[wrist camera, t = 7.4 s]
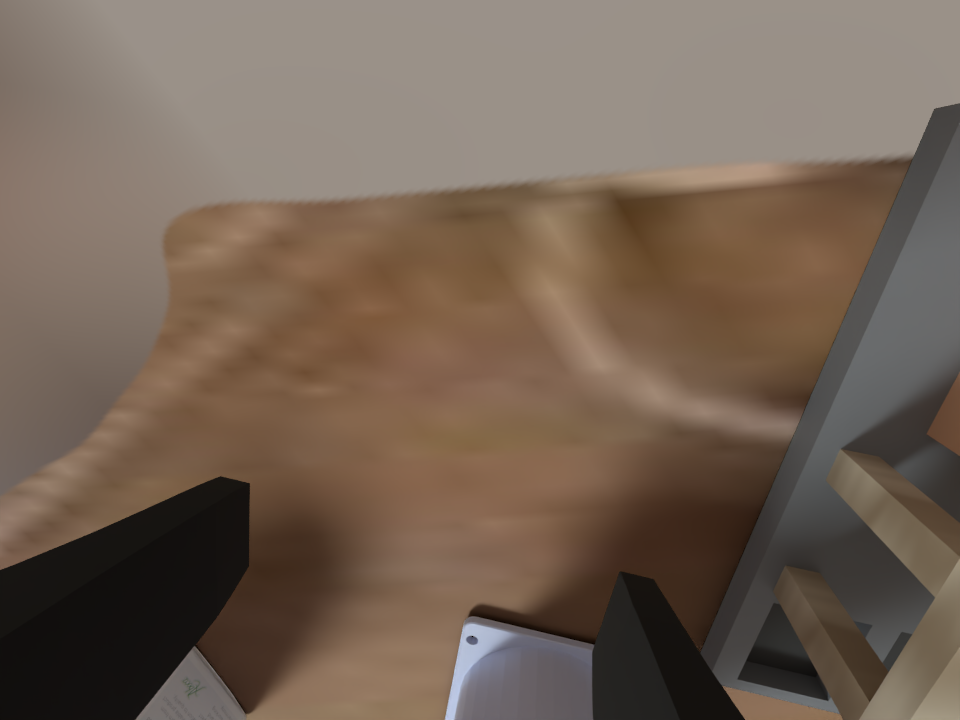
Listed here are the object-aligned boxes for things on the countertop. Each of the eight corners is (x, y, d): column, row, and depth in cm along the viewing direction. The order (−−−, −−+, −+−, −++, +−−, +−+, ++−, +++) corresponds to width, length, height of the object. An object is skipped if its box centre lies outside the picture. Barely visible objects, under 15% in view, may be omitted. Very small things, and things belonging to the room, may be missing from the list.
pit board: (947, 714, 20) (970, 745, 19) (699, 655, 21) (707, 682, 20) (1337, 168, 13) (1411, 166, 12) (934, 108, 14) (968, 101, 13)
